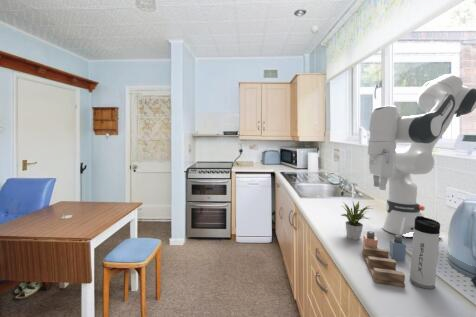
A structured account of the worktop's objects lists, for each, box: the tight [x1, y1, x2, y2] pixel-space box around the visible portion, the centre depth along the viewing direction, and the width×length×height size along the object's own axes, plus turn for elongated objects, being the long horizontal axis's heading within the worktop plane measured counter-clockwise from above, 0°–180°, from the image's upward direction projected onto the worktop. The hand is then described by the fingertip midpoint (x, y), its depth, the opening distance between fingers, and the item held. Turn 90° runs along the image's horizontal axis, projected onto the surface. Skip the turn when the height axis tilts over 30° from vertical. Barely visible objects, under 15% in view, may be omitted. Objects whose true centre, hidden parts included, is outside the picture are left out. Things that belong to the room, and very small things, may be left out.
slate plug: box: [388, 234, 407, 262], centre depth 94 cm, size 4×4×8 cm
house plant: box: [340, 200, 374, 241], centre depth 110 cm, size 14×14×16 cm
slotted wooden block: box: [362, 245, 406, 288], centre depth 86 cm, size 8×19×4 cm, turn 164°
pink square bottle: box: [362, 230, 379, 248], centre depth 98 cm, size 4×4×8 cm
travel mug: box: [409, 216, 441, 290], centre depth 77 cm, size 6×7×20 cm
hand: (379, 188), depth 93 cm, fingers open, 8 cm apart
